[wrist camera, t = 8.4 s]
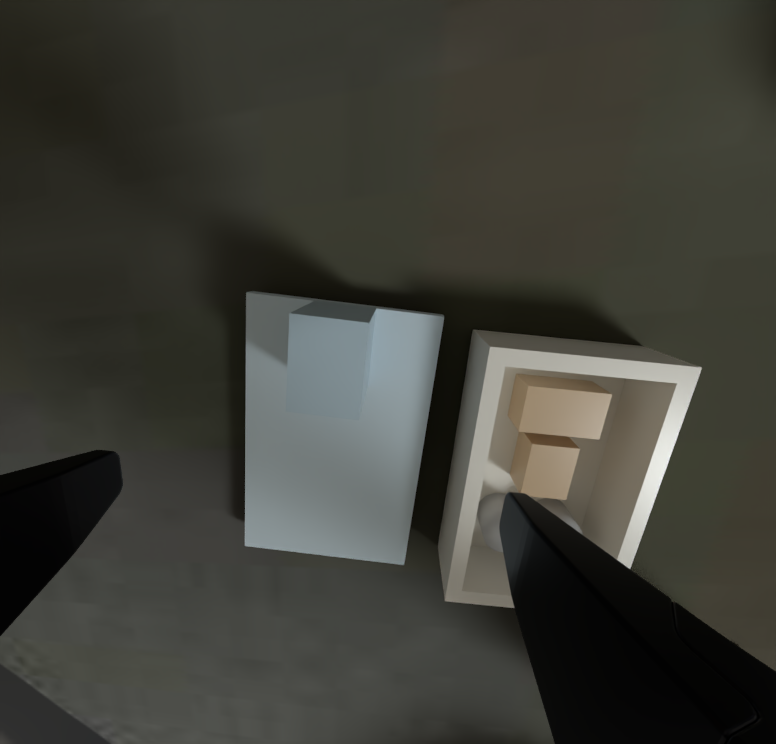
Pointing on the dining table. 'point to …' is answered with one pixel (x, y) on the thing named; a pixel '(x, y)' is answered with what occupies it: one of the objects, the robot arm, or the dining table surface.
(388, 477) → the lid
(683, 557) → the dining table surface
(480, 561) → the tub
